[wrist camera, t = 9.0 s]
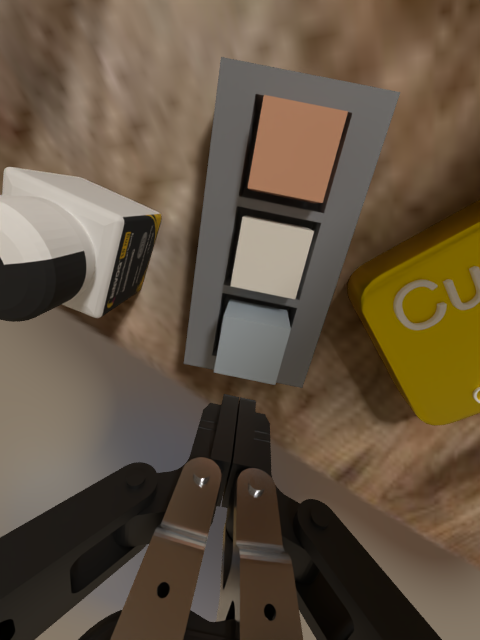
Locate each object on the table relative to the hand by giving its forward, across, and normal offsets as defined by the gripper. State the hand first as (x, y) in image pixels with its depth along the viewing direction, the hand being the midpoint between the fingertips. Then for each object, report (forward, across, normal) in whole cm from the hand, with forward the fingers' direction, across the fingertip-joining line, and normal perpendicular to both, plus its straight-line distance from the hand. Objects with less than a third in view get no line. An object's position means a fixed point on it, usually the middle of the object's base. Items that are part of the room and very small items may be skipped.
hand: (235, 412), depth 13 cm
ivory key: (+11, 0, -6) cm, 13 cm away
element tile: (+14, -17, -4) cm, 23 cm away
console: (+13, 0, -6) cm, 15 cm away
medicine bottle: (+14, +13, -4) cm, 19 cm away
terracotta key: (+11, 0, -12) cm, 16 cm away
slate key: (+10, 0, 0) cm, 10 cm away
